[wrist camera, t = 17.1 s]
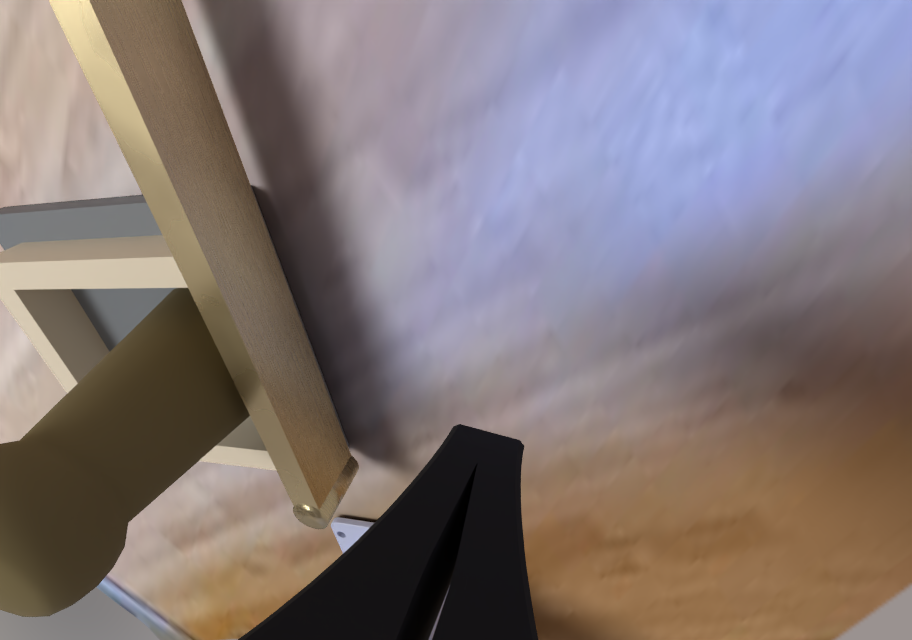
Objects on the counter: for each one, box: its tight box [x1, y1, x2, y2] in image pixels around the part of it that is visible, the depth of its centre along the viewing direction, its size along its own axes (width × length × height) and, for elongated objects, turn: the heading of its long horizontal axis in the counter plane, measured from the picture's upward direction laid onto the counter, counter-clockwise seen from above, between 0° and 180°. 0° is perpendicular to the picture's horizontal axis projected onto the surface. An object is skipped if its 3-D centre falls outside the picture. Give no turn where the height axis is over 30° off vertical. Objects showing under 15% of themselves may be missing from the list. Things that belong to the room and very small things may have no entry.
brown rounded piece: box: [0, 288, 250, 617], centre depth 18 cm, size 6×6×11 cm
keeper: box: [49, 0, 359, 529], centre depth 18 cm, size 21×2×3 cm, turn 10°
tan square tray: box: [0, 186, 349, 471], centre depth 23 cm, size 13×13×3 cm
